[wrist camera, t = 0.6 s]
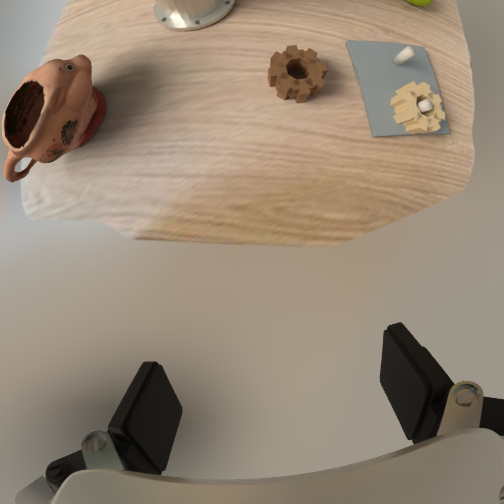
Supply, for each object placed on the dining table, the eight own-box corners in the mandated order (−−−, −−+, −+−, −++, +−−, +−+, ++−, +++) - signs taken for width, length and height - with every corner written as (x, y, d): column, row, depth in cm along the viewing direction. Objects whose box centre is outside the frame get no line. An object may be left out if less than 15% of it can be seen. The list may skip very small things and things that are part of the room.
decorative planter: (72, 199, 36) (11, 212, 22) (34, 163, 34) (-24, 167, 21) (137, 86, 31) (86, 53, 18) (90, 61, 30) (39, 33, 16)
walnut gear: (263, 61, 30) (263, 49, 26) (313, 55, 30) (318, 43, 26) (274, 106, 32) (276, 97, 28) (326, 99, 31) (333, 91, 28)
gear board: (345, 43, 29) (357, 25, 23) (420, 49, 28) (439, 37, 22) (372, 137, 32) (391, 131, 27) (445, 134, 31) (468, 131, 26)
